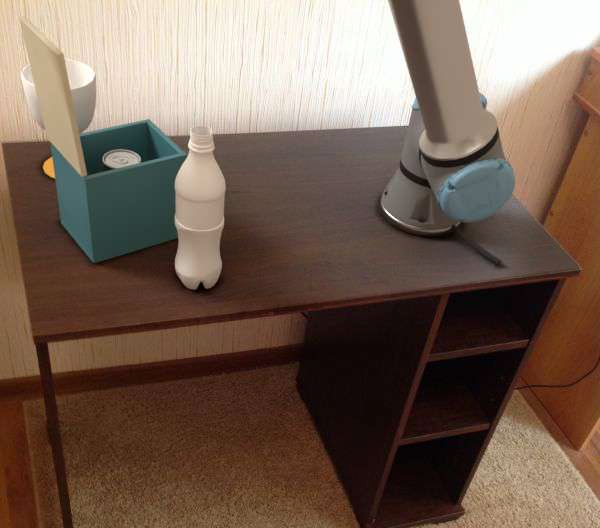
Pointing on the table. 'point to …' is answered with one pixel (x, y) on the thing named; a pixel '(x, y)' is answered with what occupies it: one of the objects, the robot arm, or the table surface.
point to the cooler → (120, 191)
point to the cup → (82, 96)
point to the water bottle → (199, 212)
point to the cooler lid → (53, 94)
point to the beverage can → (119, 159)
